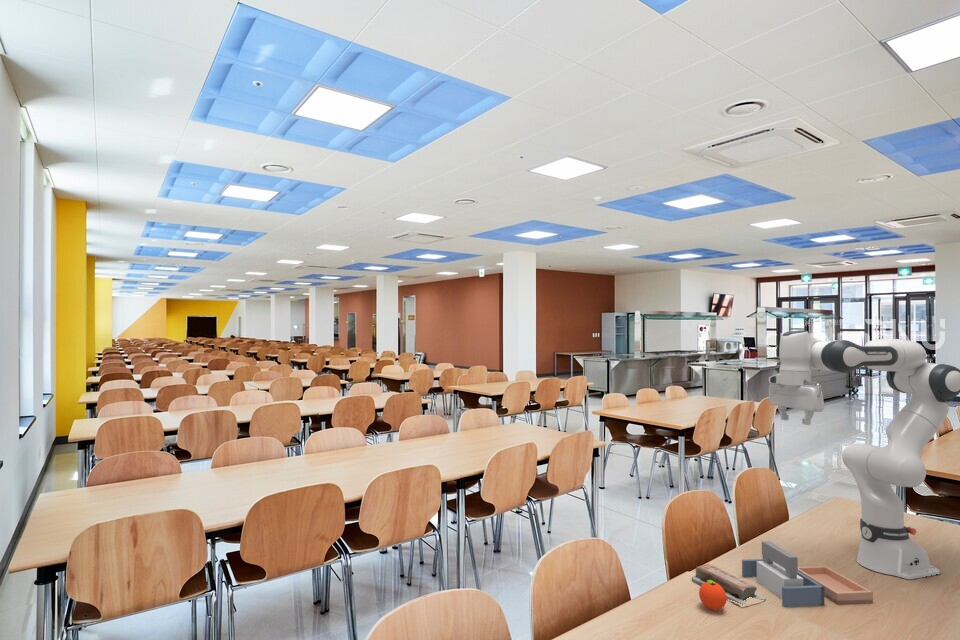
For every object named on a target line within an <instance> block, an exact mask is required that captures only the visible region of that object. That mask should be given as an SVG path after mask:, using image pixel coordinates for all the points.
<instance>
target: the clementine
mask: <svg viewBox="0 0 960 640" xmlns="http://www.w3.org/2000/svg"><path fill="white" fill-rule="evenodd" d="M698 595H699V599H700V601H701V603H702V605H704V606H705V607H706V608H707V609H709V610H712V611H719V610H722V609H723V608H725V605H726V604H727V601H728V600H727V597H726V593H725V591H724V589H723V588H722V587H721V586H720V585H719V584H718V583H716V582H714V581H712V580H706V583H704V584H703V585H702V586H700V587H699V591H698Z"/></svg>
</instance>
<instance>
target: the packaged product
mask: <svg viewBox="0 0 960 640" xmlns="http://www.w3.org/2000/svg"><path fill="white" fill-rule="evenodd" d="M706 580H712V581H714V582H716V583H718V584H719V585H720V586H721V587H722V588H723V589H724V591H725V593H726V597H727V599H729V600H732V601H735V602H737V603H740V604H742V605H743V604H746V603H745V602H747V600H746V599H747V598H749V597H752V598H755V599H759V600H764V602H765V601H766V600H767V598H766V597H765V596H762V595H760V594H758V593H756V592H757V589H758V588H757V587H756V586H755V585H753V584H751V583H750V582H747V581H745V580H743V579H741V578H739V577H737V576H735V575H733V574H732V573H729V572H727V571H726V570H723V569H722V568H720V567H717V566H715V565H713V564H710V563H707V564H704V565H699V566H696V567H695V576H691V582H693V583H695V584H697V585H698V586H700V587H701V586H702V585H703V584H704V583H706ZM744 600H745V602H744Z"/></svg>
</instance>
